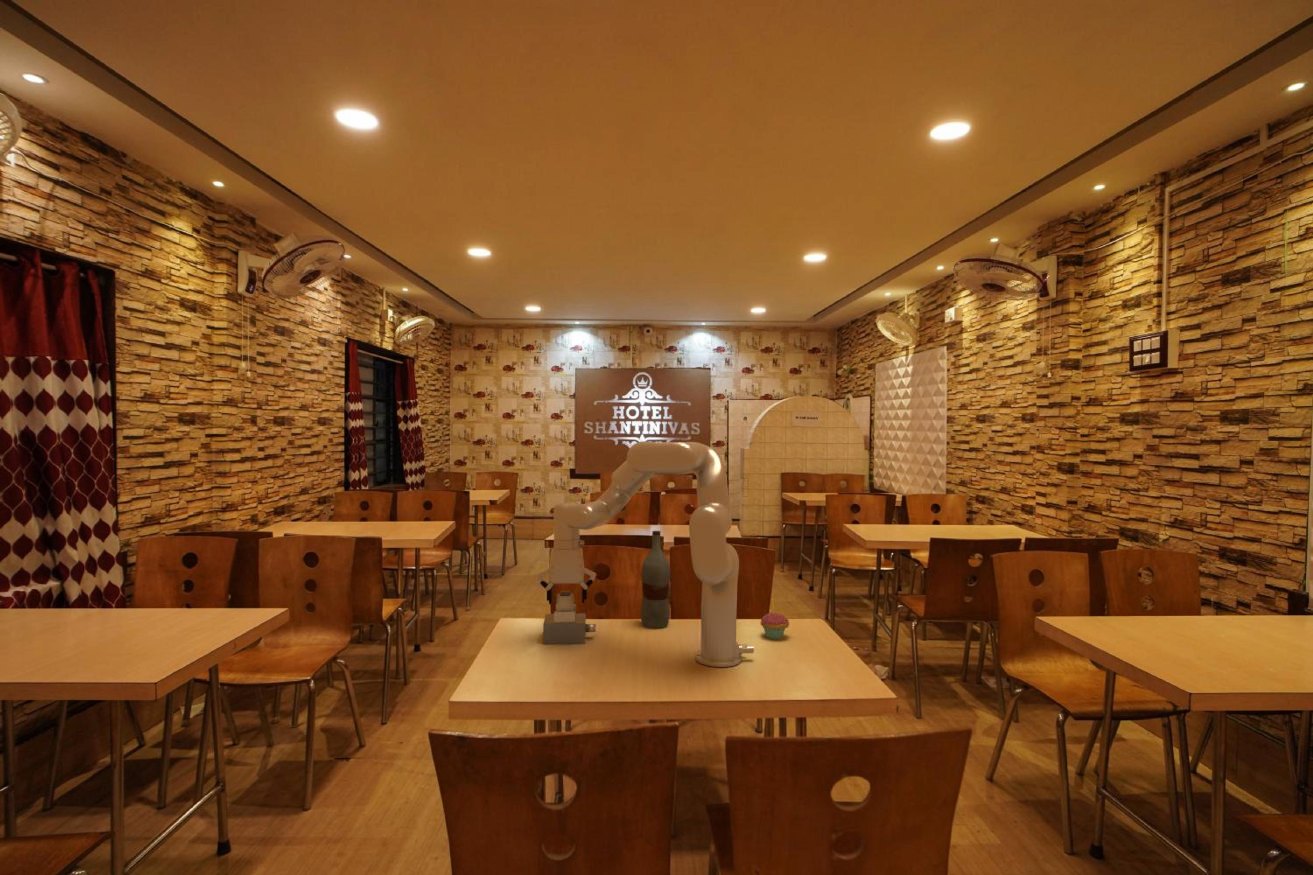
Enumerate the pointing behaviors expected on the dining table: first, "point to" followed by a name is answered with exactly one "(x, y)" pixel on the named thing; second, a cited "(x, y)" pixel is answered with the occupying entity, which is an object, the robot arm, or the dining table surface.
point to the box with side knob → (566, 628)
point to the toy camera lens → (565, 601)
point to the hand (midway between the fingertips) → (566, 602)
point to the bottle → (655, 587)
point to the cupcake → (774, 624)
